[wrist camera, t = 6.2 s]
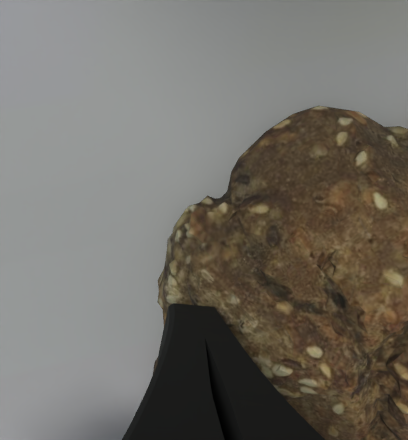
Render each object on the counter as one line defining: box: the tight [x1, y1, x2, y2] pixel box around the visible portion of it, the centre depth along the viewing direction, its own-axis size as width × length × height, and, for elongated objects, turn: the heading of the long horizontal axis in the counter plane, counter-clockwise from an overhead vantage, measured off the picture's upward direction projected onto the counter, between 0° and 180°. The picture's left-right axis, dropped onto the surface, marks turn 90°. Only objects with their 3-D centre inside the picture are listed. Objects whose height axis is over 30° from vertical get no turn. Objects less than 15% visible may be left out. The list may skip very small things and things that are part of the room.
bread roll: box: [153, 106, 408, 440], centre depth 11 cm, size 13×12×5 cm
